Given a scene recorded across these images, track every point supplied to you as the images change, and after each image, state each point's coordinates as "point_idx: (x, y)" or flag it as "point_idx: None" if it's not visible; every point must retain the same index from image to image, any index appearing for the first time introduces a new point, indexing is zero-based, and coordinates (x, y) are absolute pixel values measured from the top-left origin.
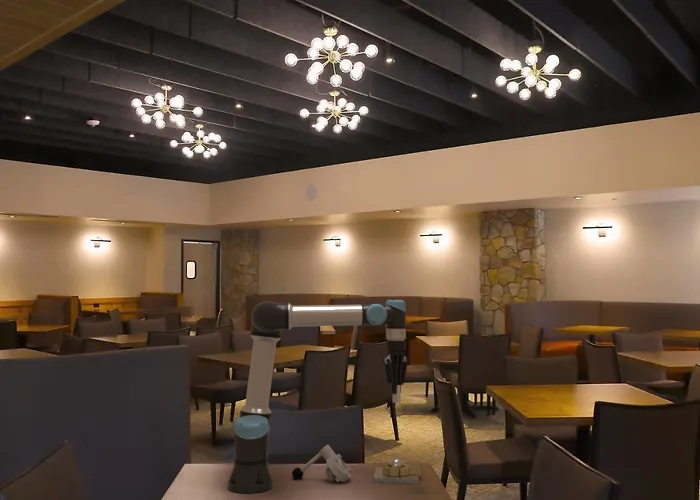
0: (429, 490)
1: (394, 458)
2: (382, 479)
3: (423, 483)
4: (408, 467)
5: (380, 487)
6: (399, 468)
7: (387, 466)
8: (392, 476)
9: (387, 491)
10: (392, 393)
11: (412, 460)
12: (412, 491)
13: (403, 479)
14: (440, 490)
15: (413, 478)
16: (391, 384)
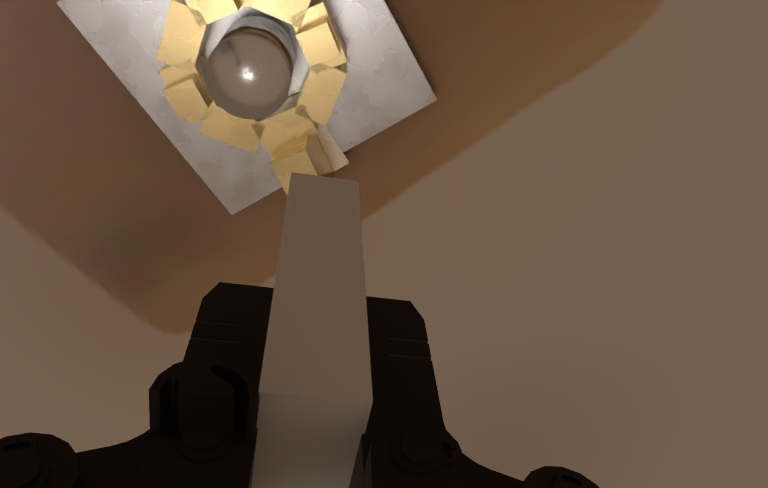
0: (180, 285)
1: (253, 58)
2: (99, 50)
3: (258, 216)
4: (269, 147)
5: (27, 89)
6: (210, 117)
7: (195, 27)
8: None
9: (6, 156)
10: (217, 293)
11: (288, 178)
12: (108, 242)
13: (181, 152)
14: None
15: (227, 187)
16: (133, 446)
